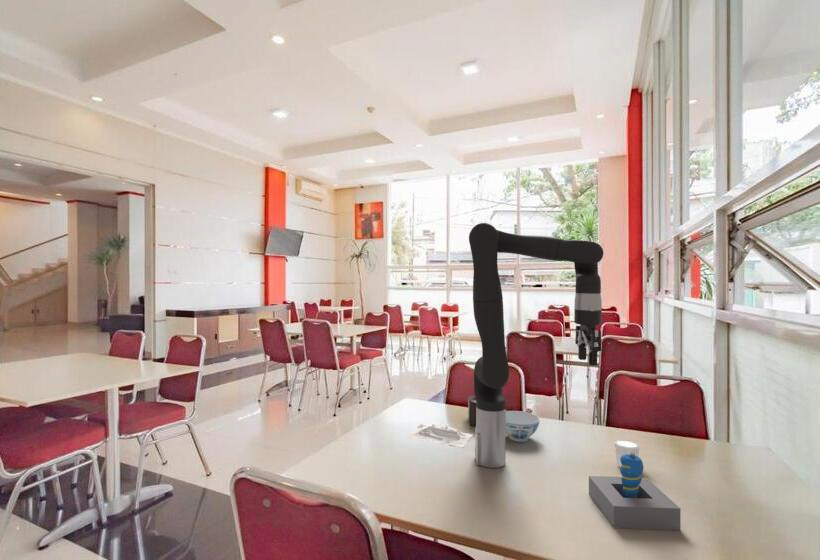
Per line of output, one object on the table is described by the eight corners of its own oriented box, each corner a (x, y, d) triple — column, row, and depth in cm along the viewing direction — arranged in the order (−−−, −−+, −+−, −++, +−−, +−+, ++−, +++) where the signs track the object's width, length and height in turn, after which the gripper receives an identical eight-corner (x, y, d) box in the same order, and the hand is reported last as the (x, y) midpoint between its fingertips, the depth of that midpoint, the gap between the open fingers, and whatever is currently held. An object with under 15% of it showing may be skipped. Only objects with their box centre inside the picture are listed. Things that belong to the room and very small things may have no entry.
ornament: (614, 504, 105) (616, 446, 105) (633, 504, 105) (635, 445, 105) (626, 516, 100) (628, 454, 99) (646, 515, 100) (648, 454, 100)
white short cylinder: (642, 472, 123) (642, 449, 123) (618, 470, 125) (618, 447, 125) (635, 462, 130) (635, 440, 130) (611, 460, 131) (611, 438, 131)
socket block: (613, 527, 95) (613, 506, 95) (588, 494, 110) (588, 475, 110) (680, 530, 94) (680, 508, 94) (646, 496, 109) (646, 477, 109)
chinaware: (544, 436, 152) (544, 415, 152) (532, 449, 139) (533, 427, 139) (505, 428, 160) (505, 408, 160) (491, 440, 147) (491, 419, 148)
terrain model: (417, 429, 163) (416, 416, 163) (474, 434, 156) (474, 420, 156) (403, 444, 147) (403, 430, 147) (467, 450, 140) (466, 435, 140)
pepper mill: (497, 427, 161) (498, 381, 161) (469, 426, 162) (469, 380, 162) (492, 414, 177) (493, 373, 177) (466, 414, 177) (467, 372, 178)
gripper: (567, 307, 131) (567, 357, 130) (583, 309, 116) (583, 366, 116) (591, 307, 130) (591, 358, 130) (610, 310, 116) (610, 367, 116)
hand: (587, 362), depth 123 cm, fingers open, 8 cm apart
